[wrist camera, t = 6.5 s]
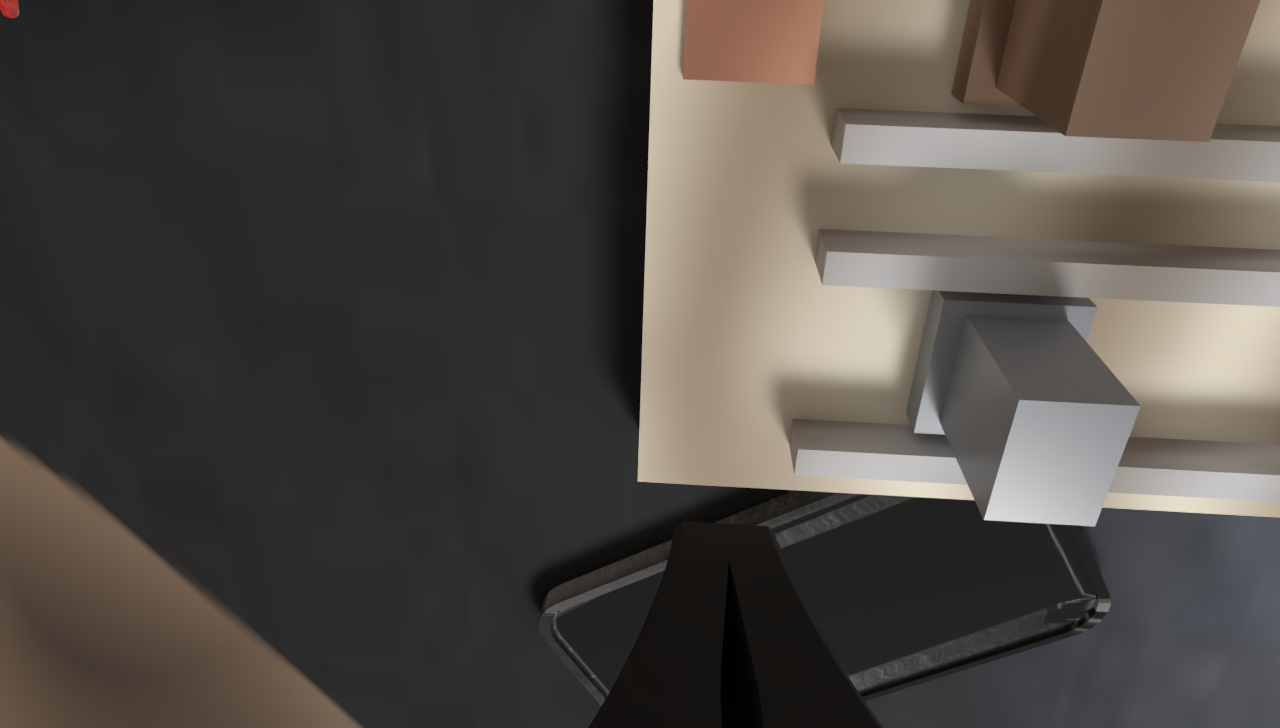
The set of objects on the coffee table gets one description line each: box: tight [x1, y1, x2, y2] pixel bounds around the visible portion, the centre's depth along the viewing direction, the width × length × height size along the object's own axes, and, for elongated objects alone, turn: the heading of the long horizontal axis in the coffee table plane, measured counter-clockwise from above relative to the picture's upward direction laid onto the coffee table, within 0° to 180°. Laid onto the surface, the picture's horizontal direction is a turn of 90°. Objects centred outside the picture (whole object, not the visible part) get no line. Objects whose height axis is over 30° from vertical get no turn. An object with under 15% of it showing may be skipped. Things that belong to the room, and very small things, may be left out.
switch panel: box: [638, 0, 1280, 518], centre depth 17 cm, size 20×15×3 cm
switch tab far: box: [906, 290, 1141, 526], centre depth 17 cm, size 3×3×4 cm
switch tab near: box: [951, 0, 1260, 142], centre depth 13 cm, size 3×3×4 cm
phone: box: [539, 490, 1111, 706], centre depth 25 cm, size 8×1×15 cm
